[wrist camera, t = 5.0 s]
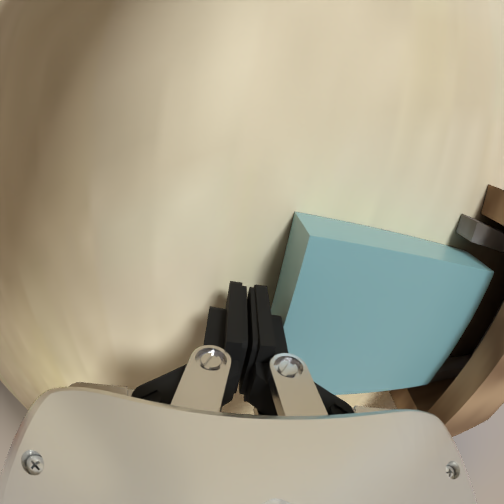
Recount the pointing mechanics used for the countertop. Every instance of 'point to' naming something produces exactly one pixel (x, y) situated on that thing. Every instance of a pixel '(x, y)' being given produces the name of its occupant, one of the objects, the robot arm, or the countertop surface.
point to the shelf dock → (476, 364)
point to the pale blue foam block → (373, 303)
